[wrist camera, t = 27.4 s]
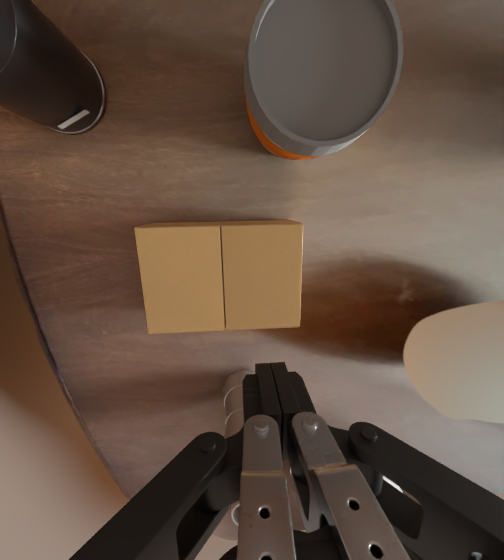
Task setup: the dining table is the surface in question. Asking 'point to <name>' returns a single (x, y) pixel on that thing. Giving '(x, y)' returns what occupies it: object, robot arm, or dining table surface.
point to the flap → (262, 275)
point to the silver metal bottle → (234, 415)
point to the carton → (184, 274)
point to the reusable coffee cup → (320, 72)
